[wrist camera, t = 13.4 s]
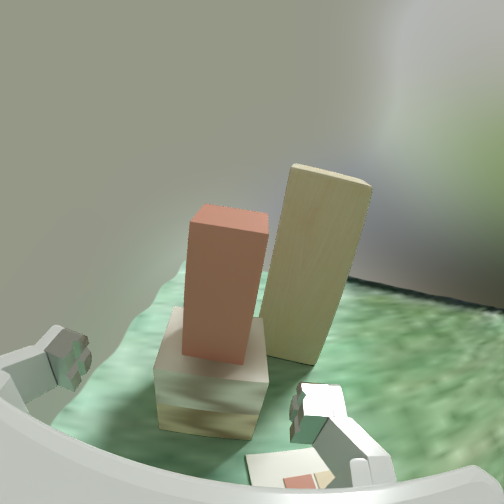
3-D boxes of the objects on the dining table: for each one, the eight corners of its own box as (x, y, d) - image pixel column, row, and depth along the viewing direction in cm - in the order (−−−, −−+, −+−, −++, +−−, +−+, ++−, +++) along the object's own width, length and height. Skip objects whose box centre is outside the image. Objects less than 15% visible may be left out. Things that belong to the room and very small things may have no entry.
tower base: (249, 378, 30) (262, 317, 27) (250, 439, 22) (269, 382, 19) (173, 368, 29) (174, 306, 26) (159, 428, 22) (153, 368, 19)
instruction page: (350, 441, 23) (351, 439, 23) (380, 507, 16) (382, 506, 15) (245, 455, 21) (246, 454, 21) (263, 537, 13) (263, 536, 13)
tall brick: (246, 328, 25) (268, 213, 21) (243, 365, 21) (268, 234, 17) (193, 320, 25) (204, 203, 21) (181, 354, 20) (190, 221, 17)
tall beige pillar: (317, 331, 39) (361, 177, 32) (316, 366, 33) (374, 186, 25) (261, 318, 40) (293, 161, 33) (250, 352, 34) (287, 166, 26)
